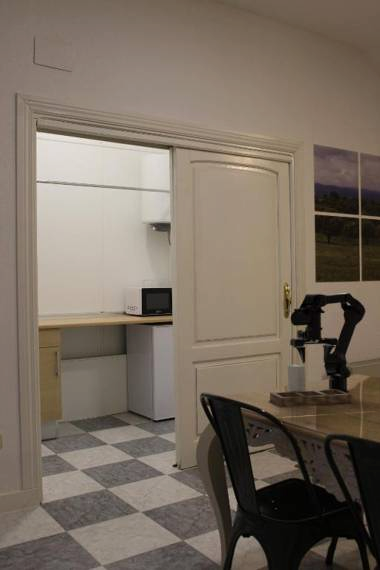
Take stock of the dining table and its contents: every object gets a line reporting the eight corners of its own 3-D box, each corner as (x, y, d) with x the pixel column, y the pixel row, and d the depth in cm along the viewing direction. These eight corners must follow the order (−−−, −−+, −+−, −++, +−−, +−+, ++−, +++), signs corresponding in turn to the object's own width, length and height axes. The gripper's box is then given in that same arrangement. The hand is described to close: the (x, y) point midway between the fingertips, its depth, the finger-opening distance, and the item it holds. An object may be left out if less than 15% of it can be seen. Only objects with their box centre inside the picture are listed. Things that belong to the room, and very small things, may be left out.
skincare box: (306, 395, 235) (306, 365, 235) (298, 396, 232) (297, 366, 232) (295, 393, 240) (295, 364, 240) (287, 394, 237) (287, 365, 237)
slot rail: (336, 396, 232) (336, 388, 232) (351, 402, 220) (350, 394, 220) (270, 400, 226) (269, 392, 226) (281, 406, 214) (281, 398, 214)
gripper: (326, 323, 245) (326, 359, 245) (284, 324, 241) (285, 361, 241) (338, 324, 234) (339, 363, 234) (295, 325, 230) (295, 365, 230)
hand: (314, 363), depth 235 cm, fingers open, 9 cm apart
